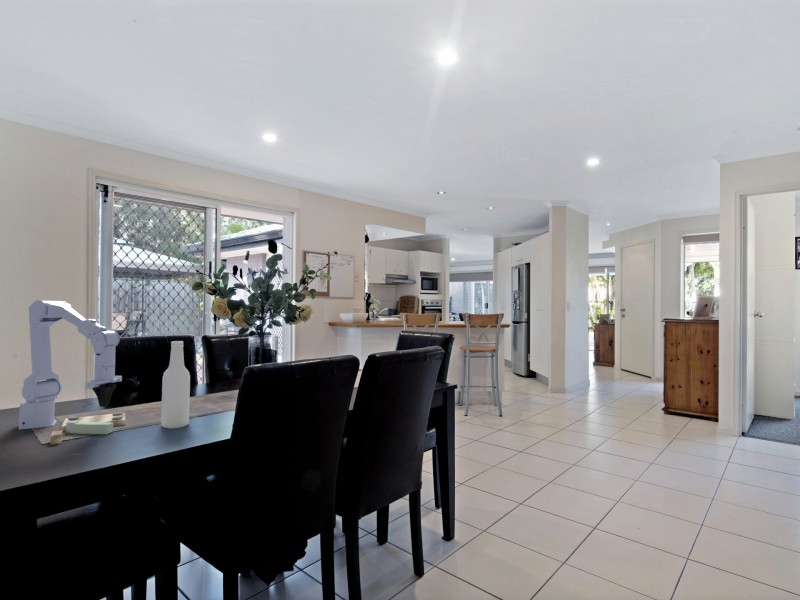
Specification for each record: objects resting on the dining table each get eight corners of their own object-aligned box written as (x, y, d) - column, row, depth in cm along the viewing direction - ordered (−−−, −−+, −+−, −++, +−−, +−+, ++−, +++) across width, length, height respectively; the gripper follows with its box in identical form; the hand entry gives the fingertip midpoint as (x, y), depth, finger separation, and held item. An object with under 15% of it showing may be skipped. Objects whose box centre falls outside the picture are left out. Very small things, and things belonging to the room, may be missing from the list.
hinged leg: (63, 433, 142) (63, 423, 142) (71, 430, 146) (71, 420, 146) (106, 434, 142) (106, 424, 142) (113, 431, 145) (113, 421, 145)
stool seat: (50, 445, 131) (50, 435, 131) (61, 424, 153) (61, 416, 154) (125, 436, 141) (125, 426, 141) (125, 417, 164) (125, 409, 164)
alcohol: (156, 429, 150) (158, 342, 150) (168, 422, 158) (170, 340, 159) (182, 429, 150) (184, 342, 151) (193, 422, 159) (195, 340, 159)
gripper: (100, 369, 140) (99, 411, 140) (130, 363, 155) (129, 401, 154) (79, 368, 140) (78, 410, 140) (111, 363, 155) (110, 401, 155)
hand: (103, 406), depth 147 cm, fingers closed
